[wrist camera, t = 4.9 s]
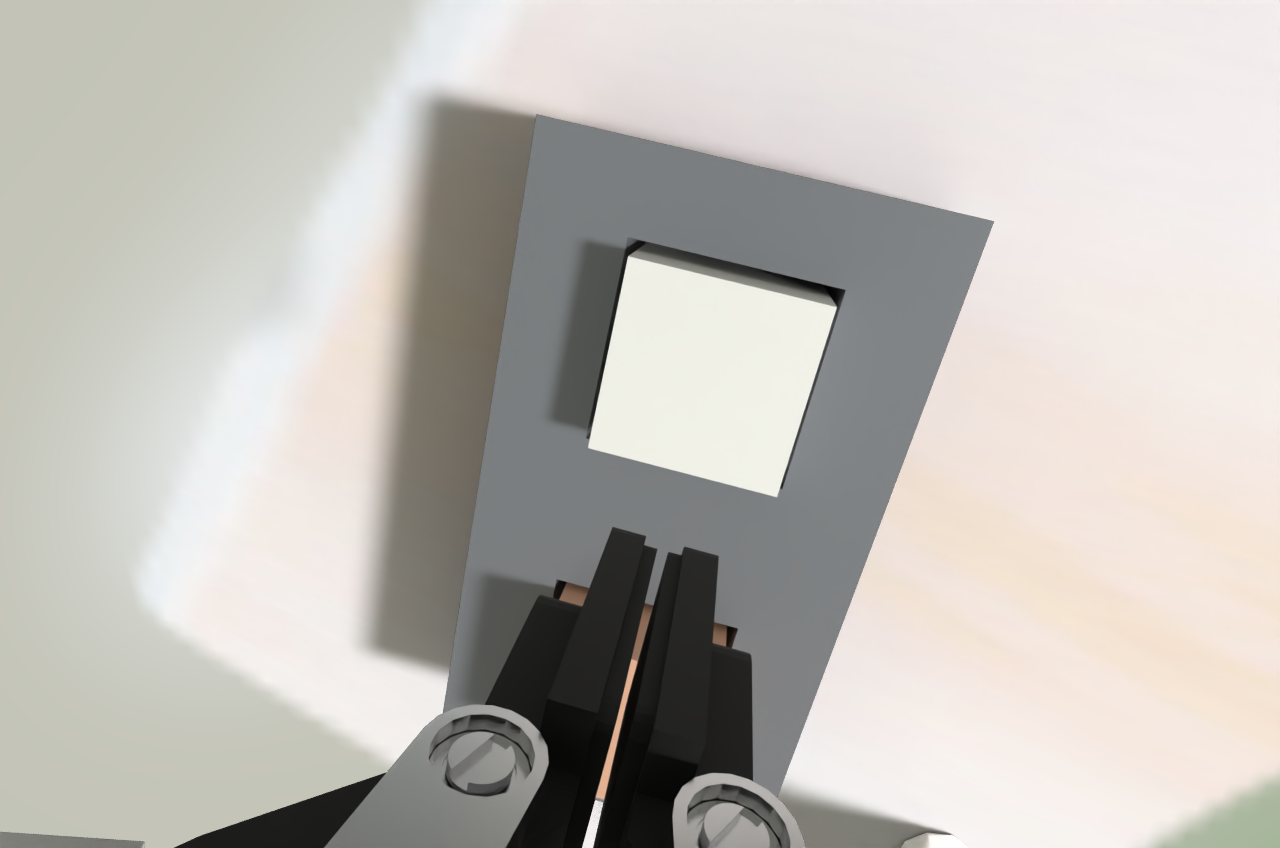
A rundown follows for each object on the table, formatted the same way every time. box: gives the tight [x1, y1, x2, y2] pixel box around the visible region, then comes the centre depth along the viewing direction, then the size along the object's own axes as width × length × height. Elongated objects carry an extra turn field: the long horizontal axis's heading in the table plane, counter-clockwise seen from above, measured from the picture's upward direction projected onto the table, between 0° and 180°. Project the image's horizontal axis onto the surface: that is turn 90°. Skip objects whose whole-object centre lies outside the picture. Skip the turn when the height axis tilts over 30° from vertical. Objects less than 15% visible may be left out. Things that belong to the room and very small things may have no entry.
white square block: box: [588, 242, 837, 497], centre depth 22 cm, size 5×5×4 cm
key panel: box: [443, 114, 994, 802], centre depth 25 cm, size 22×12×4 cm, turn 168°
